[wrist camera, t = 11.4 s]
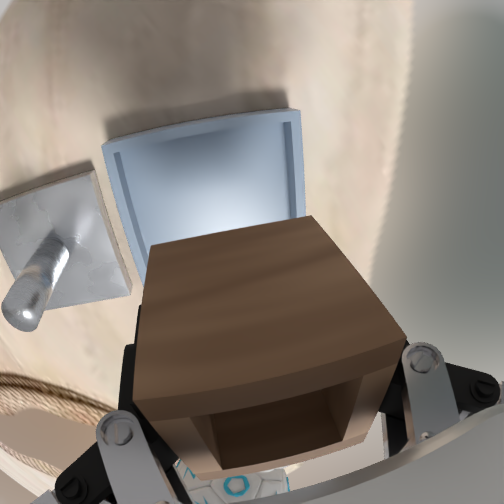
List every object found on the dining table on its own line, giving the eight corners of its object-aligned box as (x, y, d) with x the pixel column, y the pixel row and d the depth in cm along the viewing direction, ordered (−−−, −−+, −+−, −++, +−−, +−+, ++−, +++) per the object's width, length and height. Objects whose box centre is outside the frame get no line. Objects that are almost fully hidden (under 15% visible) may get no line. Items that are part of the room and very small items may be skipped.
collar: (150, 245, 10) (132, 400, 5) (311, 215, 11) (406, 337, 6) (188, 353, 13) (200, 480, 8) (310, 328, 14) (363, 441, 9)
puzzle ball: (295, 430, 39) (326, 519, 26) (227, 467, 43) (245, 544, 30) (210, 407, 32) (233, 530, 19) (147, 450, 36) (154, 544, 23)
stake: (37, 303, 21) (8, 373, 15) (-8, 204, 16) (-65, 259, 10) (132, 285, 22) (120, 363, 16) (94, 169, 17) (50, 218, 11)
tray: (152, 288, 22) (150, 305, 21) (109, 139, 17) (101, 145, 15) (298, 258, 24) (306, 273, 22) (289, 107, 18) (300, 110, 16)
